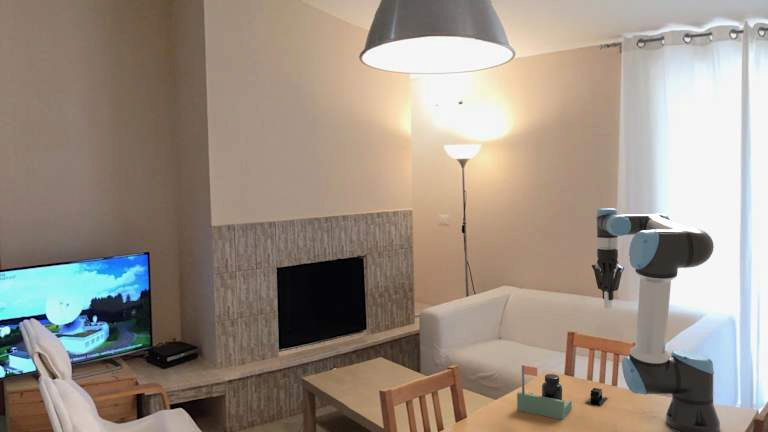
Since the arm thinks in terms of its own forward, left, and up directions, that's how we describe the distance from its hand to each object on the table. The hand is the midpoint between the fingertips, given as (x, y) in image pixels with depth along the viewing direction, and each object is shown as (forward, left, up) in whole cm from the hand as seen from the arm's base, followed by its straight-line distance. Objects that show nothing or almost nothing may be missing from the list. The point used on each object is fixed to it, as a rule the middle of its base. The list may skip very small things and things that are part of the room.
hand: (608, 307), depth 222 cm
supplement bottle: (-4, +39, -30) cm, 49 cm away
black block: (-9, +21, -30) cm, 38 cm away
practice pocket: (-2, +41, -29) cm, 51 cm away
